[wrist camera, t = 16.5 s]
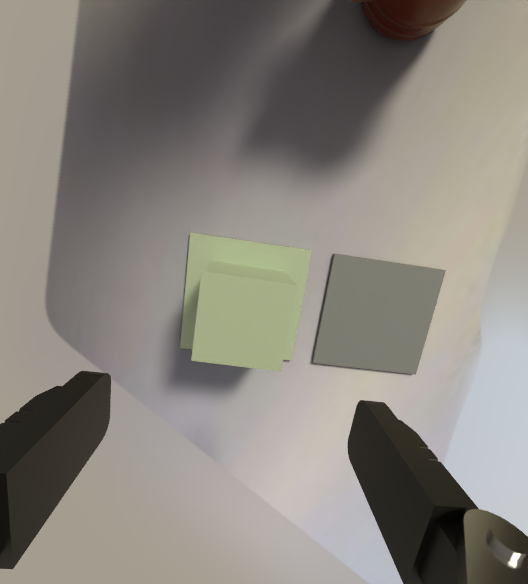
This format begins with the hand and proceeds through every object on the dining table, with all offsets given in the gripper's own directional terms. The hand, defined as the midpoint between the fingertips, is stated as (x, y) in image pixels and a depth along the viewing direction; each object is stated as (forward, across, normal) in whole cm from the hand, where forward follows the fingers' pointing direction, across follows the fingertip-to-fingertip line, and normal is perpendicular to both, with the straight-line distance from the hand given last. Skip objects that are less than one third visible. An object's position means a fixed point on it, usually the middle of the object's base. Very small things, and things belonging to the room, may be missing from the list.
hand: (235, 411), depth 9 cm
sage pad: (+15, 0, 0) cm, 15 cm away
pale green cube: (+15, 0, 0) cm, 15 cm away
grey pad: (+15, -12, 0) cm, 19 cm away
